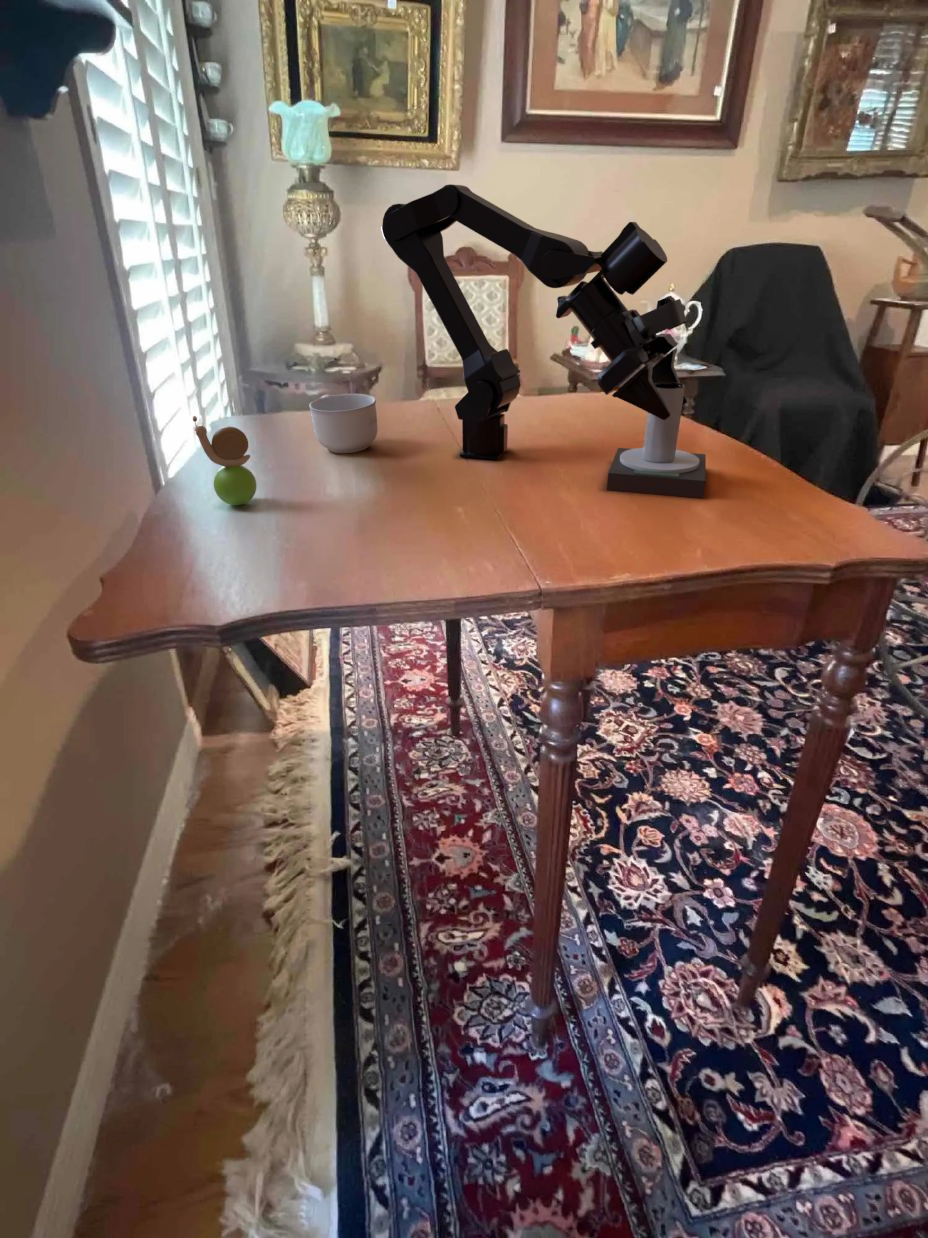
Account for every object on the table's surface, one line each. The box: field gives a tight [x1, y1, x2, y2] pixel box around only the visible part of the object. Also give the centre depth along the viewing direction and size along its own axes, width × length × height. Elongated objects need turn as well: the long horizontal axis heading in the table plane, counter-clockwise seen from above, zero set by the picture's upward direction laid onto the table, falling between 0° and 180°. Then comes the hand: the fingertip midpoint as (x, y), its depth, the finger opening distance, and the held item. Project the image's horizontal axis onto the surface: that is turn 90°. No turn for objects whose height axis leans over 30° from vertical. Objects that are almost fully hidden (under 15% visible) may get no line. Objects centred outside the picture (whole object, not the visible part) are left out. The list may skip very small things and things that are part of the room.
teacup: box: [308, 393, 378, 454], centre depth 116 cm, size 14×11×8 cm
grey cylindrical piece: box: [642, 382, 686, 463], centre depth 97 cm, size 4×4×10 cm
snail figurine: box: [192, 415, 257, 506], centre depth 90 cm, size 5×6×12 cm
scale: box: [606, 447, 707, 499], centre depth 100 cm, size 13×13×3 cm
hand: (676, 410), depth 95 cm, fingers open, 9 cm apart
